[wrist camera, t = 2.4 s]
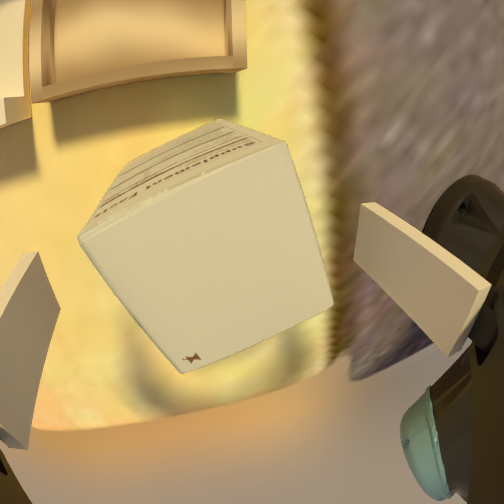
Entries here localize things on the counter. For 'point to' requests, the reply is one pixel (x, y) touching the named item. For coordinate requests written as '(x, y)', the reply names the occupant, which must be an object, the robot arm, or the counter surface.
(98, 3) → the wooden trough
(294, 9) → the counter surface
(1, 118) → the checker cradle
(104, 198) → the supplement box
